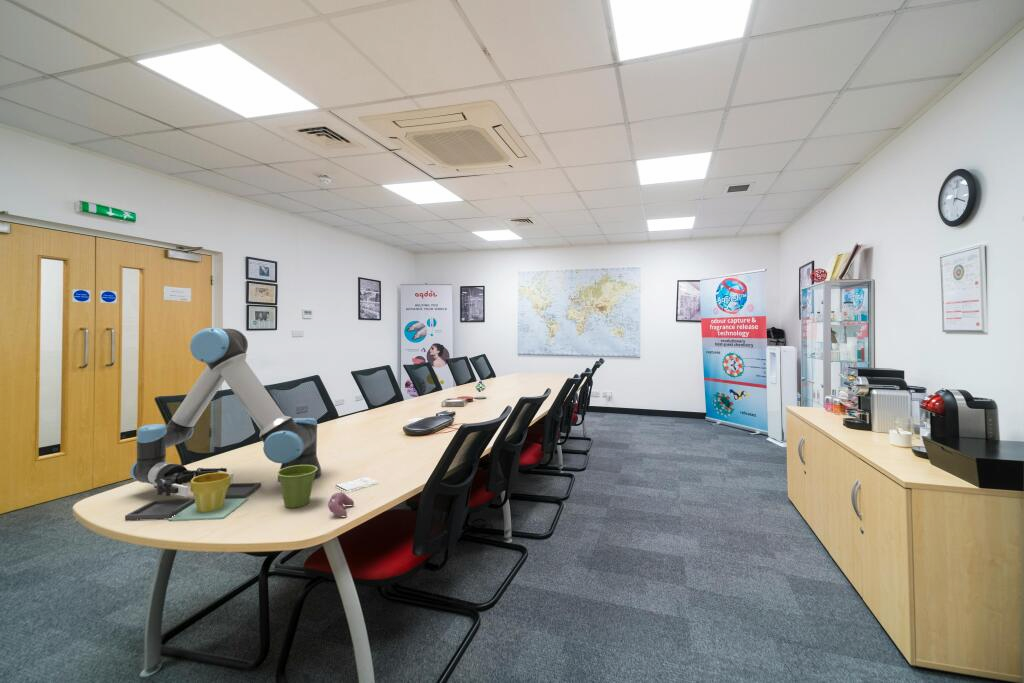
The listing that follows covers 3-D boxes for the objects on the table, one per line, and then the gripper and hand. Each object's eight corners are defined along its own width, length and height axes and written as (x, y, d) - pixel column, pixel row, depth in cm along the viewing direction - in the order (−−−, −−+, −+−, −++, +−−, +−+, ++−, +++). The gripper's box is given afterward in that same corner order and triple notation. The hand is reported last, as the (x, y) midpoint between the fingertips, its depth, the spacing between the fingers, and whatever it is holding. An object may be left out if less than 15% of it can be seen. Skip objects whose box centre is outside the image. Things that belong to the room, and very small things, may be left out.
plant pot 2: (271, 513, 129) (271, 476, 129) (283, 498, 140) (283, 465, 140) (312, 510, 131) (312, 474, 131) (320, 496, 143) (321, 463, 143)
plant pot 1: (234, 507, 131) (235, 476, 131) (194, 517, 123) (194, 485, 123) (225, 499, 138) (225, 469, 138) (186, 508, 130) (186, 477, 130)
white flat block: (335, 488, 152) (366, 480, 161) (346, 494, 146) (378, 485, 156) (335, 484, 152) (366, 476, 161) (346, 489, 146) (378, 481, 156)
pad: (248, 499, 139) (248, 498, 139) (223, 518, 124) (223, 517, 124) (199, 501, 137) (199, 499, 137) (168, 521, 122) (168, 519, 122)
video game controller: (342, 510, 135) (333, 491, 135) (355, 503, 136) (346, 485, 135) (333, 524, 125) (322, 503, 125) (347, 516, 126) (336, 496, 125)
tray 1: (194, 503, 135) (195, 498, 135) (169, 518, 123) (169, 513, 123) (154, 504, 134) (154, 500, 134) (124, 520, 122) (125, 515, 122)
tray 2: (260, 486, 151) (260, 482, 151) (244, 499, 139) (244, 494, 139) (225, 487, 149) (225, 483, 149) (205, 500, 137) (205, 496, 137)
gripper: (208, 475, 150) (248, 483, 142) (122, 499, 126) (164, 511, 119) (208, 454, 150) (248, 461, 142) (122, 475, 126) (165, 485, 118)
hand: (210, 484), depth 130 cm, fingers open, 13 cm apart
